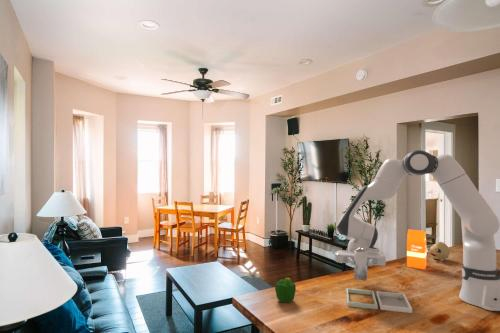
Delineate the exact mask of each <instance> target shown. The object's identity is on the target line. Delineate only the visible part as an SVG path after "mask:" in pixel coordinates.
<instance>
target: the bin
mask: <svg viewBox="0 0 500 333" xmlns="http://www.w3.org/2000/svg"><path fill="white" fill-rule="evenodd" d="M349 293H350V294H358V295H359V294H360V295H369V296H372V299H373V303H364V302H357V301H350V296H349ZM346 302H347V307H353V308H354V307H355V308H361V309H372V310H378V308H379V306H378V305H379V304H378V300H377V297H376V293H375V292H374V290H370V289H369V290H368V289H356V288H347V287H346Z"/></svg>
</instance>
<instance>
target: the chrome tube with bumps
mask: <svg viewBox="0 0 500 333" xmlns="http://www.w3.org/2000/svg"><path fill="white" fill-rule="evenodd" d="M354 262H355V263H354V264H355V265H353V267H354V268H353V269H354V272H353V273H354V275H353V276H354V279H356V280H360V281H366V280H368V266H367V251H366V249H364V248H361V247H359V248H358V249H356V250H354Z"/></svg>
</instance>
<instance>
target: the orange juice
mask: <svg viewBox="0 0 500 333" xmlns="http://www.w3.org/2000/svg"><path fill="white" fill-rule="evenodd" d="M406 236H407V237H406V267H407V268H408V267H409V268H415V269H420V270H426V267H427V252H428V250H427V236H426V231H425V230H419V229H418V230H417V229H409V228H408V229H407V235H406Z"/></svg>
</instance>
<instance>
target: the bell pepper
mask: <svg viewBox="0 0 500 333" xmlns="http://www.w3.org/2000/svg"><path fill="white" fill-rule="evenodd" d="M296 288H297V287H296V283H295V282H293V281H292V279H291V278H290V277H285V278H284V279H280V280H278V281H276V282H275V283H274V289H275V290H274V291H275V295H276V298H277V300H278V301H279V303H292V302H293V301H294V299H295V295H296V291H297V289H296Z"/></svg>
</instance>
